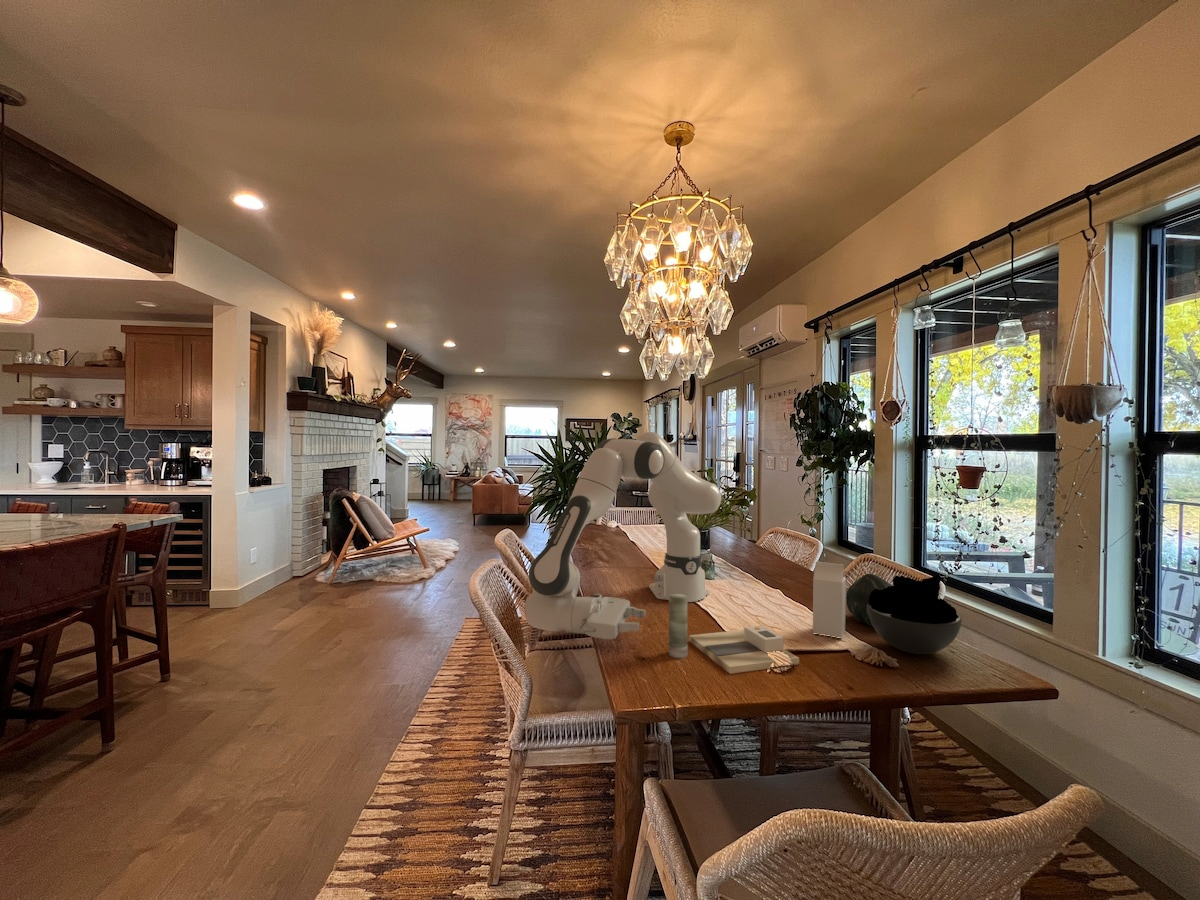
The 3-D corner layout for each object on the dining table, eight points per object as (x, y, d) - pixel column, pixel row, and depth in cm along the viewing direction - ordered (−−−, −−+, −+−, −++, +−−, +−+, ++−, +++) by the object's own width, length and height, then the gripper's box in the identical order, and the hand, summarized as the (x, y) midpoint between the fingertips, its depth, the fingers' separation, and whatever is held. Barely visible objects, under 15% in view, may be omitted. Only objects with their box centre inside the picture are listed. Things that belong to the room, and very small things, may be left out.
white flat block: (689, 641, 135) (689, 634, 135) (750, 634, 140) (750, 628, 140) (730, 673, 116) (730, 666, 116) (799, 664, 121) (799, 657, 121)
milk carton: (841, 640, 136) (842, 567, 136) (812, 634, 140) (813, 563, 140) (845, 631, 142) (845, 562, 142) (817, 627, 146) (817, 559, 146)
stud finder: (744, 638, 132) (744, 626, 132) (761, 636, 134) (761, 624, 134) (765, 652, 124) (765, 638, 124) (783, 650, 125) (783, 636, 125)
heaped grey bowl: (873, 661, 123) (874, 581, 123) (861, 632, 142) (861, 563, 142) (974, 673, 116) (974, 589, 116) (946, 642, 135) (947, 569, 135)
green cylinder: (665, 651, 128) (665, 594, 128) (682, 649, 129) (682, 593, 129) (673, 659, 124) (673, 600, 123) (690, 657, 125) (691, 598, 125)
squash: (901, 597, 156) (866, 559, 157) (923, 615, 142) (884, 572, 143) (862, 626, 158) (828, 588, 160) (880, 647, 144) (842, 604, 145)
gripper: (576, 616, 122) (634, 621, 118) (597, 592, 141) (648, 595, 138) (576, 643, 122) (634, 649, 118) (597, 615, 142) (647, 619, 138)
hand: (642, 620), depth 128 cm, fingers open, 8 cm apart
